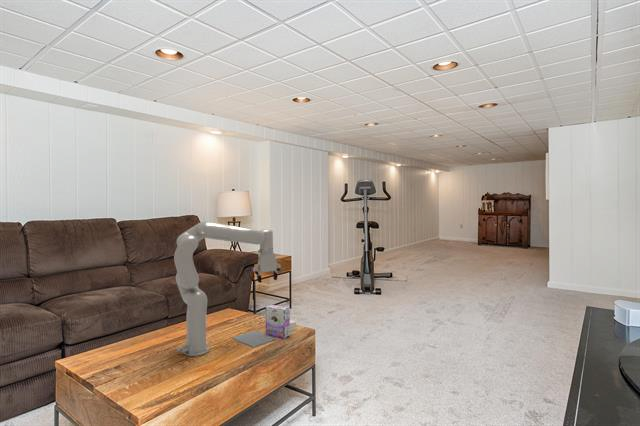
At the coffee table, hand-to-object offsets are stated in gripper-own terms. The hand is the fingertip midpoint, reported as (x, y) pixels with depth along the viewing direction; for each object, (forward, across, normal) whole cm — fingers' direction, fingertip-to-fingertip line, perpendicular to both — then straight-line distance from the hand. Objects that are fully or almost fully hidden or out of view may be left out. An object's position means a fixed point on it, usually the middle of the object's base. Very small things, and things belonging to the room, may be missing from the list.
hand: (267, 280), depth 205 cm
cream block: (+32, +15, +2) cm, 36 cm away
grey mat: (+31, -9, 0) cm, 33 cm away
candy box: (+32, +4, -2) cm, 32 cm away
